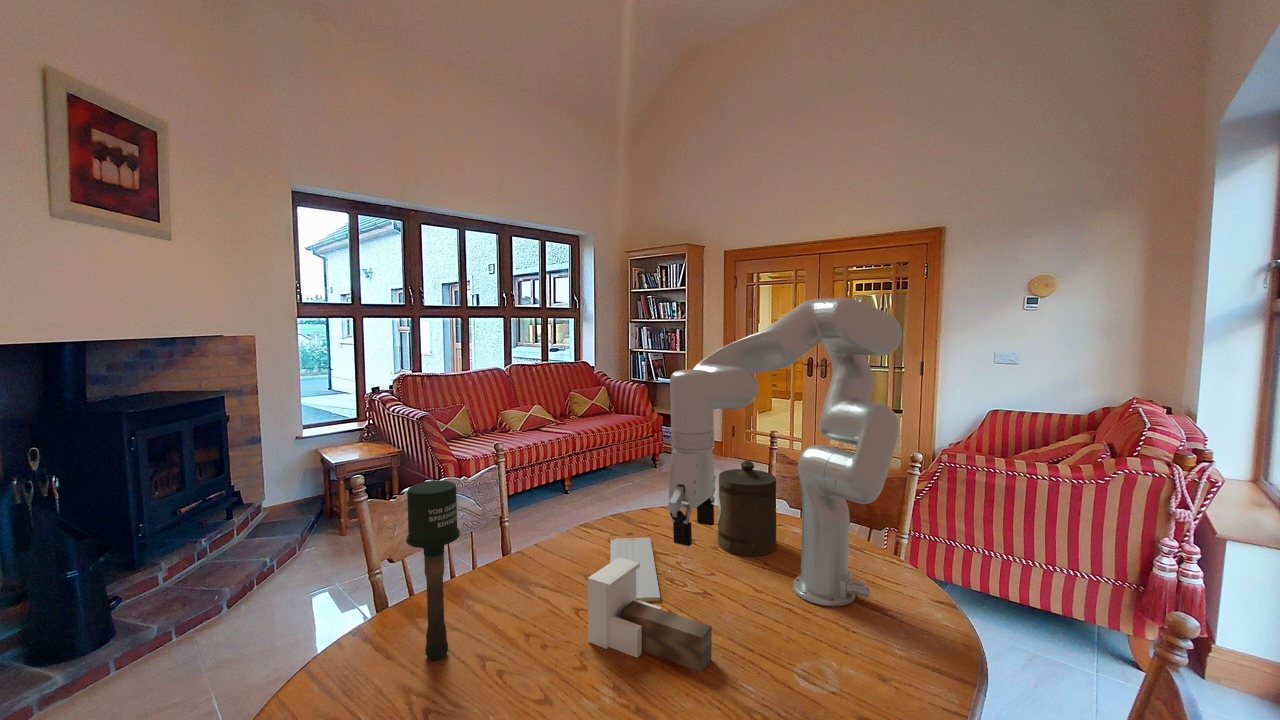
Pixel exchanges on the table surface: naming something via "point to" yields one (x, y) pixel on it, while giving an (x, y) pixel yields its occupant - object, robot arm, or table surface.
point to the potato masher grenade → (433, 549)
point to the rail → (671, 635)
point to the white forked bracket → (614, 607)
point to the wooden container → (747, 511)
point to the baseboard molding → (646, 572)
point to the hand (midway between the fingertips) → (694, 533)
